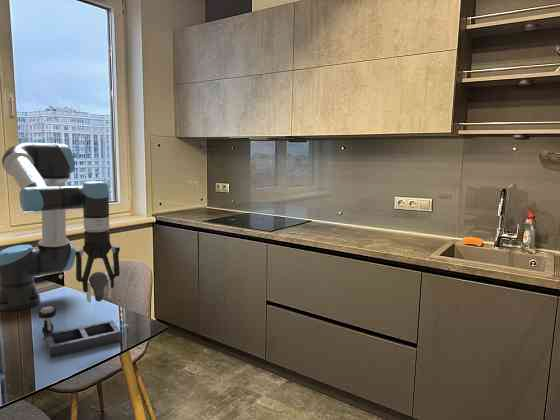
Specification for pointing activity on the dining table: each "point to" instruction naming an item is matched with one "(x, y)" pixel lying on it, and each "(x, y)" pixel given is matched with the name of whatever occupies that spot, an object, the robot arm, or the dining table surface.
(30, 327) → the dining table surface
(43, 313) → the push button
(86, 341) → the rectangular frame
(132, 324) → the dining table surface
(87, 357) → the dining table surface
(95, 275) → the light bulb
